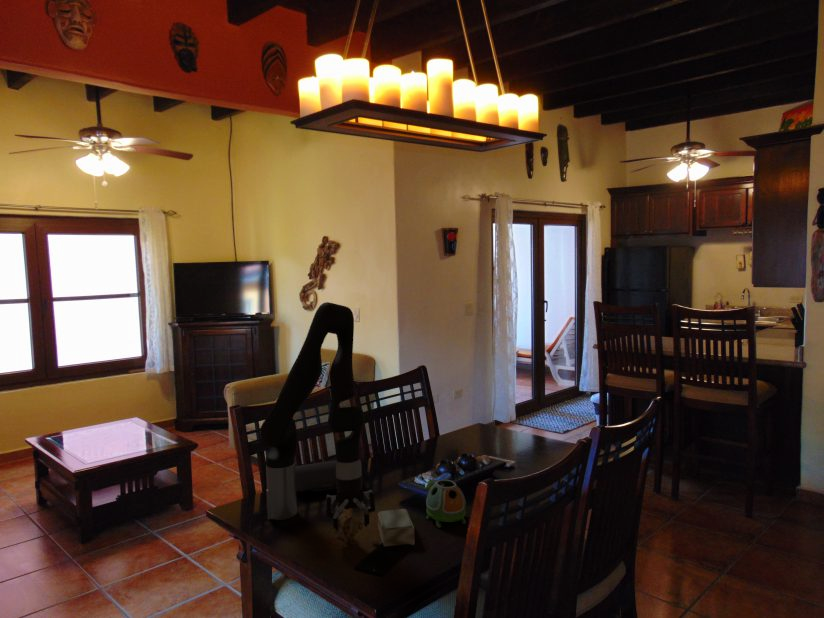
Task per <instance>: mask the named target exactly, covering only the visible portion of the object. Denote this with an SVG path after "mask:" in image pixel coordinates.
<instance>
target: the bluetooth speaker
mask: <svg viewBox="0 0 824 618" xmlns="http://www.w3.org/2000/svg"><path fill="white" fill-rule="evenodd" d="M295 482H296V492H297V491H298V492H300V491H312V492H313V493H319V492H318V491H320V492H325V491H326V492H327V491H331V490H332V491H333V490H337V484H336V460H330V461H322V462H315V463H314V462H313V463H309V464H308V463H307V464H304V465H303V464H302V465H297V466H295Z"/></svg>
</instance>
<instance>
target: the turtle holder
mask: <svg viewBox="0 0 824 618" xmlns="http://www.w3.org/2000/svg"><path fill="white" fill-rule="evenodd" d="M440 484H441V485H440ZM425 489H426V492H427V496H426V499H425V502H426V503H425V504H426V511H425V512H426V514H427V515H426V518H425V519H426V520H431V519H432V520H434V521H435V526H436V527H437V528H443V527H442V524H441V522H443V523H444V522H445V523H453V522H460V523H461V524H463V525H465V524H466V520H465V516H466V514H467V510H466V504H467V501H466V498H465V495H464V492H463V491H462V489H461V488H460V487H459V486H458V485H457V483H456V482H454V480H451V479H439V480H436V481H432V480H428V481H427V484H426V485H425Z"/></svg>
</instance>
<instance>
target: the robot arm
mask: <svg viewBox="0 0 824 618" xmlns="http://www.w3.org/2000/svg"><path fill="white" fill-rule="evenodd" d="M354 330H355V318H354V314H353V311H352V309H351V308H350V307H348V306H345V305H342V304H337V303H335V302H334V303H333V302H328V301H327V302H325V301H324V302H323V303H322V304H320V305H319V306H318V308H317V309H316V311H315V313H314V316H313V318H312V321H311V324H310V326H309V329H308V332H307V333H306V334H307V335H306V337H305V340H304V341H303V344H302V346H301V349H300V351H299V353H298V355H297V357H296V359H295V361H294V363H293V364H292V366H291V368H290V371H289V372H288V375H287V377H286V379H285V381H284V384H283V386H282V388H281V390H280V392H279V394H278V396H277V399H276V401H275V403H274V405H273V406H272V408H271V410H270V411H269V412H268V414H267V415H266V417H265V419H264V420H263V422H262V424H261V427H260V431H259V436H260V440H261V441H262V443H263V444H264V445H265V446H266V447H270V448H269V451H268V452H267V454H266V457H265V470H266V472H265V473H266V475H265V476H266V510H267V511H266V512H267V520H273V519H274V520H273V521H283V520H284V521H285V520H289V519H291V518H293V517H295V516H297V513H298V509H297V506H298V505H297V491H296V482H295V467H296V464H295V463H296V462H295V461H296V460H295V458H296V454H297V449H298V448H297V444H298V443H297V442H298V441H297V440H298V439H297V434H298V432H297V431H298V430H297V424H296V421H295V420H294V416H295V415H296V413H297V412H298V410H299V409H300V408H301V407H302V405H303V404H304V403H305V402H306V400H308V398H309V396H311V394H312V392H313V391H314V389H315V387H316V386H317V384H318V382H319V380H320V378H321V376H322V373H323V362H322V361H323V360H322V347H323V343H324V341H325V340H326V337H327V335H328V334H334V335H335V336H336V339H337V349H336V354H335V356H334V358H333V361H332V362H331V366H330V371H329V383H330V393H331V395H330V396H331V398H330V405H329V406H330V407H329V412H328V415H327V416H328V417H327V425H328V429H330V431H331V432H332V433H344V432H345V433H346V432H350V434H349V435H348V436H345V437H343V438H340V439H338V440H336V442H335V461H336V484H337V489H336V494H335V495H330V494H326V500H325V501H326V503H325V506H326V508H325V511H326V512H325V513H326V517H327V518H332V526H333V527H332V528H333V529H334V530H335V529H336V530H335V531H337V532H338V517H339V516H340V515H341V514H342V511H343V510H349V509H357V508H359V509H360V511H362V512H363V524H364V525H363V526H364V527H368V525H369V524H370V513H373V512H375V511H376V506H375V496H374V491H373V490H372V489H368V490H366V491H363V490H364V489H363V474H362V473H363V472H362V463H361V462H362V461H361V451H360V447H361V446H360V445H361V437H362V436H361V435H362V432H363V427H364V424H365V413H364V410H363V409H362V407H360V406H356V405H353V406H344V407H340V404H342V403H343V402H345V401H349V400H352V399H353V398H354V397H355V395H356V390H355V389H356V387H355V379H354V371H353V370H354V369H353V368H354V367H353V366H354V365H353V352H354V335H355V334H354ZM365 497H366V499H367V500H368V503H369V506H368V507H367V506H366V504H365V503H364V502H363V500H364V498H365ZM335 501H336V502H338V503H337V505H336V506H335V508H334V510H333V511H332V504H334V502H335Z"/></svg>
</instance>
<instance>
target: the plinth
mask: <svg viewBox="0 0 824 618" xmlns="http://www.w3.org/2000/svg"><path fill="white" fill-rule="evenodd" d="M377 529H378V533H379V536H380V539H381V543H382V542H383V545H384V546H393V545H403V544H411V545H413V546H414V545H415V544H416V543H415V527H414V524H413V522H412V520H411V517H410V515H409V512H408V510H407V509H406V508H401V509H399V508H398V509H390V510H380V511H379V512H377Z"/></svg>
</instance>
